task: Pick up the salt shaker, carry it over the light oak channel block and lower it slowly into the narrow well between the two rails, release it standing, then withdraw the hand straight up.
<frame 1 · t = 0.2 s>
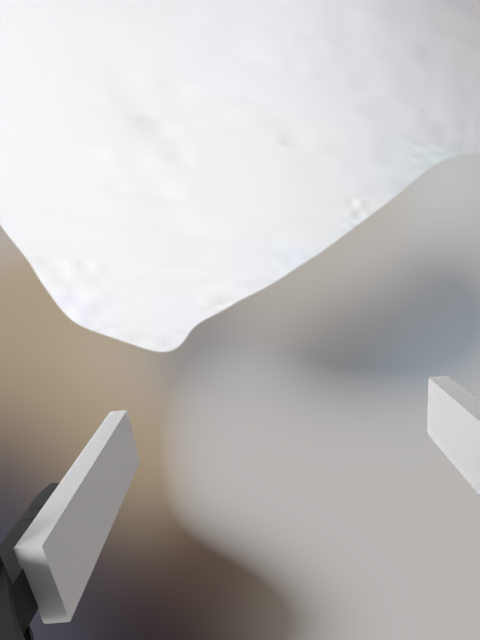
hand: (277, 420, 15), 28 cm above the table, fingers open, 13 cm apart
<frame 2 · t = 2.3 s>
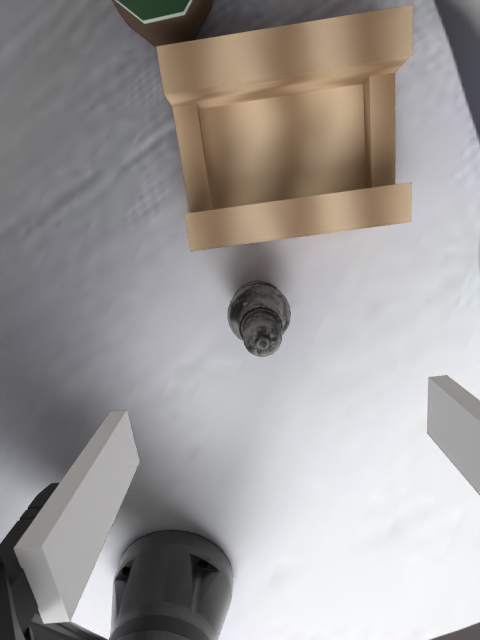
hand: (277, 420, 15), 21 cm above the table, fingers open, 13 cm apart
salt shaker: (257, 305, 36), on the table
well block: (283, 153, 31), on the table
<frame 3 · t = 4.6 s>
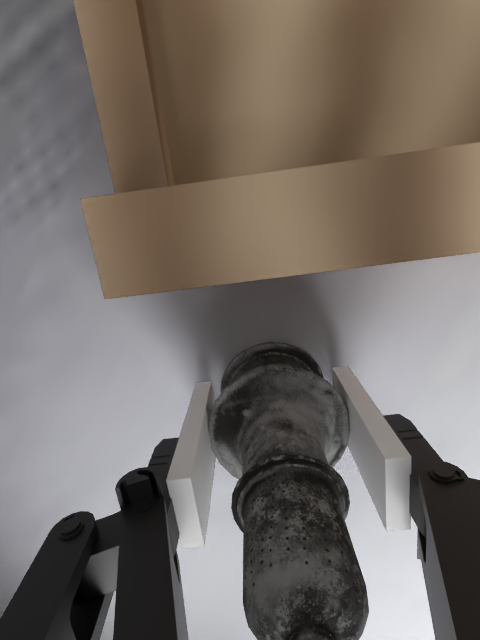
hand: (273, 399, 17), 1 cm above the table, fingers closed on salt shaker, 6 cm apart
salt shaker: (272, 389, 18), on the table, touching gripper
well block: (337, 62, 14), on the table
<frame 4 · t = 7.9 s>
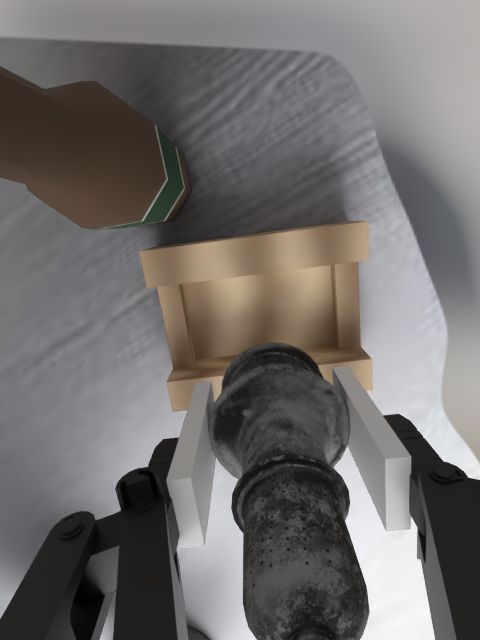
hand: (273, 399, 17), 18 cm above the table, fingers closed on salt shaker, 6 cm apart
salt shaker: (272, 389, 18), point 17 cm above the table, touching gripper
well block: (259, 308, 34), on the table
beer bottle: (151, 183, 31), on the table
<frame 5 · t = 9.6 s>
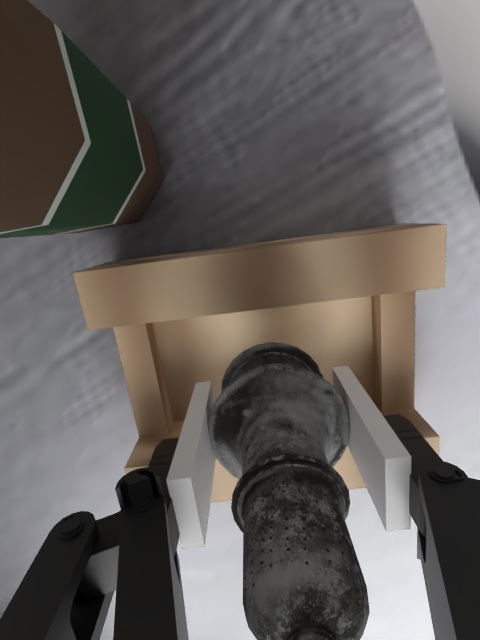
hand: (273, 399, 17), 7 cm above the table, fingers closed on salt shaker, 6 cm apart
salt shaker: (272, 388, 18), point 6 cm above the table, touching gripper
well block: (264, 348, 24), on the table
beer bottle: (103, 166, 21), on the table
when the fingers open (3 cm above the table, at t = 11.2 s): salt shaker drops 1 cm, resting on well block.
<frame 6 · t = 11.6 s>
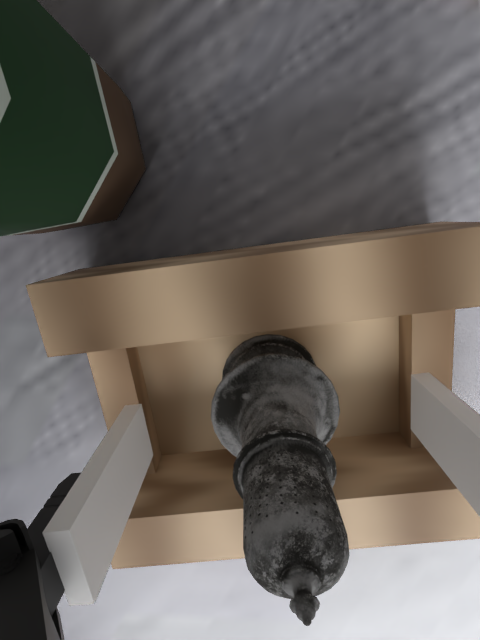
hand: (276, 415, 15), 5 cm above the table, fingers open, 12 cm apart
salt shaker: (269, 377, 19), point 1 cm above the table, touching well block
well block: (269, 370, 20), on the table
beer bottle: (74, 152, 17), on the table
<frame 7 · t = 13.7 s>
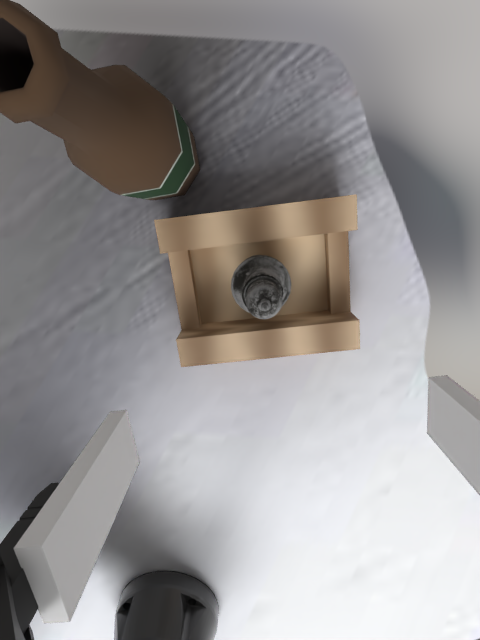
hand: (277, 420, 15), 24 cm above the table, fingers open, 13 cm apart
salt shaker: (259, 279, 37), point 1 cm above the table, touching well block
well block: (260, 277, 38), on the table
beer bottle: (164, 161, 35), on the table
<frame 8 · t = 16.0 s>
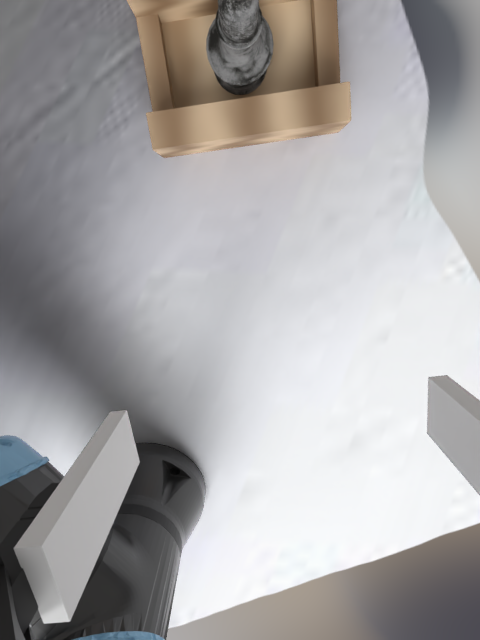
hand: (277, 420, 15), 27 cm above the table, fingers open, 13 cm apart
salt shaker: (240, 64, 34), point 1 cm above the table, touching well block
well block: (241, 67, 34), on the table
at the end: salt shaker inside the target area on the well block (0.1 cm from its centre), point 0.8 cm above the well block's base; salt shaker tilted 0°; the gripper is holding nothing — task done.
